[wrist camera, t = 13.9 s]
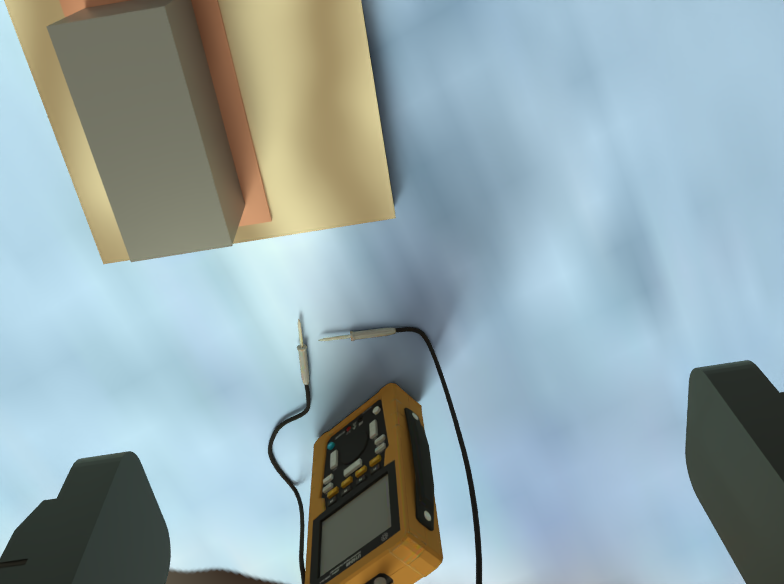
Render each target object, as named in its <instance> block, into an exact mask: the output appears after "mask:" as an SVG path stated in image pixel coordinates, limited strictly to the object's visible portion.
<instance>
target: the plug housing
mask: <svg viewBox="0 0 784 584" xmlns="http://www.w3.org/2000/svg"><path fill="white" fill-rule="evenodd" d="M46 27H47V30H48V33H49V35H50V38H51V41H52V44H53V47H54V49H55V52H56V55H57V58H58V60H59V63H60V66H61V69H62V72H63V74H64V77H65V80H66V83H67V86H68V88H69V91H70V94H71V97H72V99H73V102H74V105H75V108H76V111H77V113H78V116H79V119H80V122H81V125H82V127H83V130H84V133H85V136H86V138H87V141H88V144H89V147H90V150H91V152H92V155H93V158H94V161H95V164H96V166H97V169H98V172H99V175H100V177H101V180H102V183H103V186H104V189H105V191H106V194H107V197H108V200H109V203H110V205H111V208H112V211H113V214H114V216H115V219H116V222H117V225H118V228H119V230H120V233H121V236H122V239H123V242H124V244H125V247H126V250H127V253H128V255H129V258H130V261H131V262H134V261H141V260H147V259H153V258H160V257H166V256H172V255H178V254H185V253H191V252H197V251H203V250H210V249H216V248H222V247H228V246H232V245H233V242H234V239H235V235H236V232H237V229H238V226H239V223H240V220H241V217H242V214H243V211H244V208H245V202H244V198H243V195H242V191H241V187H240V183H239V179H238V176H237V172H236V168H235V164H234V161H233V157H232V153H231V149H230V146H229V142H228V138H227V134H226V130H225V127H224V123H223V119H222V115H221V112H220V108H219V104H218V100H217V96H216V93H215V89H214V85H213V81H212V78H211V74H210V70H209V66H208V63H207V59H206V55H205V51H204V47H203V44H202V40H201V36H200V32H199V29H198V25H197V21H196V17H195V13H194V10H193V6H192V2H191V0H130V1H124V2H118V3H112V4H106V5H100V6H94V7H88V8H84V9H82V10H80V11H78V12H76V13H74V14H72V15H69V16H67V17H65V18H63V19H61V20H59V21H57V22H55V23H52V24H50V25H48V26H46Z"/></svg>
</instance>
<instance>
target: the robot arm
mask: <svg viewBox="0 0 784 584" xmlns="http://www.w3.org/2000/svg"><path fill="white" fill-rule="evenodd" d="M685 455H686V464H687V470H688V474H689V478H690V481H691V484H692V487H693V489H694V491H695V494H696V496H697V498H698V499H699V501H700V503H701V505H702V506H703V508H704V510H705V512H706V513H707V515H708V517H709V519H710V521H711V522H712V524H713V526H714V528H715V529H716V531H717V533H718V535H719V536H720V538H721V540H722V542H723V544H724V545H725V547H726V549H727V551H728V552H729V554H730V556H731V558H732V559H733V561H734V563H735V565H736V567H737V568H738V570H739V572H740V574H741V575H742V577H743V579H744V581H745V582H746V584H784V392H781V393H779V391H778V390H777V389H776V388H775V387H774V386H773V384H772V383H771V382H770V381H769V380H768V378H767V377H766V376H765V375H764V374H763V372H762V371H761V370H760V369H759V368H758V367H757V366H756V365H755V364H754V363H753V362H752V361H749V360H745V361H739V362H732V363H725V364H719V365H712V366H705V367H699V368H694V369H693V370H692V372H691V374H690V378H689V391H688V410H687V428H686V447H685ZM170 557H171V549H170V538H169V533H168V529H167V526H166V523H165V520H164V518H163V515H162V513H161V511H160V508H159V506H158V503H157V501H156V498H155V496H154V493H153V491H152V489H151V486H150V484H149V481H148V479H147V476H146V474H145V471H144V469H143V467H142V464H141V462H140V460H139V458H138V457H137V455H136V454H135V453H133V452H131V451H128V452H122V453H115V454H108V455H102V456H95V457H88V458H82V459H78V460H77V461H76V462H75V463H74V464H73V466H72V468H71V470H70V472H69V474H68V476H67V478H66V480H65V482H64V484H63V486H62V488H61V490H60V493H59V495H58V497H57V499H50V500H43V501H42V502H41V503H40V505H39V506H38V507H37V508H36V509H35V510H34V511H33V512H32V513H31V514H30V515H29V516H28V517H27V518H26V519H25V520H24V521H23V522H22V523H21V524H20V525H19V526H18V527H17V528H16V530H15V531H14V533H13V535H12V536H11V538H10V540H9V542H8V544H7V546H6V548H5V550H4V552H3V554H2V556H1V558H0V584H165V583H166V579H167V576H168V572H169V567H170Z"/></svg>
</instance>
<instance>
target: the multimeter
mask: <svg viewBox="0 0 784 584" xmlns="http://www.w3.org/2000/svg"><path fill="white" fill-rule="evenodd" d="M298 330H299V339H300V345H298V346H297V349H298V351H299V360H300V368H301V377H302V380H303V383H304V385H305V390H306V400H307V407H306V409H305V410H304V411H303V412H301V413H299V414H297V415H295V416H293V417H291V418H289V419H286V420H285V421H283V422H282V423H280V424H279V425H278V426H277V427H276V429H275V430H274V432H273V434H272V436H271V439H270V441H269V445H268V455H269V458H270V461H271V463H272V465H273V466H274V468H275V469H276V471H277V472H278V473H279V474H280V476H281V477H282V478H283V479H284V480H285V481H286V483H287V484H288V485H289V486H290V487H291V489H292V490H293V491H294V493H295V495H296V498H297V501H298V504H299V510H300V527H301V528H300V550H299V564H300V572H301V579H302V584H414V583H415V582H417V581H418V580H420V579H421V578H423V577H426V576H427V575H429V574H430V573H431V572H433V571H434V570H435V569H437V568H438V566H439V565H440V564H441V563H442V560H443V554H442V547H441V540H440V532H439V525H438V518H437V511H436V504H435V497H434V482H433V474H432V467H431V459H430V451H429V445H428V441H427V438H426V435H425V430H424V423H423V417H422V408H421V405H420V404H419V403H418V402H416V401H415V400H414V399H413V398H412V397H410V396H409V395H408V394H407V393H406V392H405V391H404V390H402V389H401V388H400V387H399V386H398V385H397V384H394V383H389V384H387V385H386V386H384V387H383V388H381V389H380V391H379V392H378V393H377V394H376V395H374V396H373V397H372V398H371V399H369V400H368V401H367V402H365V403H364V404H363V405H362V406H360V407H359V408H358V409H357V410H355V411H354V412H353V413H351V414H350V415H349V416H348V417H346V418H345V419H344V420H343V421H341V422H340V423H339V424H338V425H336V426H335V427H334V428H332V429H331V430H330V431H329V432H325V433H324V434H323V435H322V436H321V437H320V438H319V439H318V440H317V441H316V442H315V444H314V453H313V467H312V480H311V494H310V507H309V522H308V538H307V554H306V571H305V568H304V559H303V552H304V511H303V504H302V501H301V497H300V495H299V493H298V491H297V489H296V488H295V486H294V485H293V484H292V482H291V481H290V480H289V479H288V478H287V477H286V476H285V474H284V473H283V472H282V471H281V469H280V468H279V467H278V465H277V464H276V462H275V460H274V458H273V455H272V444H273V441H274V439H275V436H276V434H277V433H278V431H279V430H280V429H281V428H282V427H283V426H284V425H286V424H287V423H289V422H292V421H294V420H296V419H298V418H300V417H302V416H304V415H305V414H306V413H308V411H309V409H310V391H309V386H308V383H309V369H308V360H307V351H306V349H307V345H305V344H303V337H302V328H301V323H300V320H299V319H298ZM406 331H411V332H416V333H418V334H420V335H421V336H422V337H423V339H424V340H425V342H426V343H427V345H428V348H429V350H430V352H431V355H432V357H433V360H434V362H435V365H436V368H437V371H438V374H439V377H440V380H441V383H442V386H443V389H444V392H445V395H446V399H447V402H448V405H449V409H450V412H451V415H452V419H453V422H454V426H455V430H456V433H457V437H458V441H459V444H460V448H461V452H462V456H463V460H464V465H465V469H466V475H467V480H468V485H469V492H470V498H471V505H472V513H473V522H474V531H475V547H476V584H482V553H481V537H480V527H479V518H478V509H477V503H476V496H475V490H474V484H473V479H472V474H471V469H470V464H469V460H468V456H467V452H466V448H465V445H464V441H463V438H462V434H461V431H460V427H459V423H458V420H457V417H456V413H455V410H454V407H453V404H452V400H451V397H450V394H449V391H448V388H447V385H446V382H445V379H444V376H443V373H442V370H441V367H440V365H439V362H438V359H437V357H436V354H435V352H434V349H433V347H432V345H431V343H430V341H429V339H428V337H427V336H426V335H425V333H424V332H422V331H421V330H420V329H417V328H413V327H403V328H380V329H372V330H364V331H356V332H353V331H350V334H351V335H344V336H336V337H328V338H323V339H320V340H319V341H330V340H338V339H346V338H351V341H354V340H357V339H365V338H373V337H380V336H388V335H392V334H395V333H396V332H406Z"/></svg>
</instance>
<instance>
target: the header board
mask: <svg viewBox="0 0 784 584" xmlns="http://www.w3.org/2000/svg"><path fill="white" fill-rule="evenodd" d="M4 1H5V4H6V7H7V9H8V12H9V15H10V17H11V20H12V23H13V25H14V28H15V31H16V33H17V36H18V39H19V41H20V44H21V46H22V49H23V52H24V54H25V57H26V60H27V62H28V65H29V68H30V70H31V73H32V76H33V78H34V81H35V84H36V86H37V89H38V92H39V94H40V97H41V100H42V102H43V105H44V107H45V110H46V113H47V115H48V118H49V121H50V123H51V126H52V129H53V131H54V134H55V137H56V139H57V142H58V145H59V147H60V150H61V153H62V155H63V158H64V161H65V163H66V166H67V168H68V171H69V174H70V176H71V179H72V182H73V184H74V187H75V190H76V192H77V195H78V198H79V200H80V203H81V206H82V208H83V211H84V214H85V216H86V219H87V222H88V224H89V227H90V229H91V232H92V235H93V237H94V240H95V243H96V245H97V248H98V251H99V253H100V256H101V259H102V261H103V264H108V263H114V262H120V261H127V260H130V258H129V255H128V253H127V250H126V247H125V244H124V242H123V239H122V236H121V233H120V230H119V228H118V225H117V222H116V219H115V216H114V214H113V211H112V208H111V205H110V203H109V200H108V197H107V194H106V191H105V189H104V186H103V183H102V180H101V177H100V175H99V172H98V169H97V166H96V164H95V161H94V158H93V155H92V152H91V150H90V147H89V144H88V141H87V138H86V136H85V133H84V130H83V127H82V125H81V122H80V119H79V116H78V113H77V111H76V108H75V105H74V102H73V99H72V97H71V94H70V91H69V88H68V86H67V83H66V80H65V77H64V74H63V72H62V69H61V66H60V63H59V60H58V58H57V55H56V52H55V49H54V47H53V44H52V41H51V38H50V35H49V33H48V30H47V27H46V26H48V25H50V24H52V23H55V22H57V21H59V20H61V19H63V18H65V17H67V16H69V15H72V14H74V13H76V12H78V11H80V10H82V9H84V8H88V7H94V6H100V5H106V4H112V3H118V2H124V1H130V0H4ZM191 2H192V6H193V10H194V13H195V17H196V21H197V25H198V29H199V32H200V36H201V40H202V44H203V47H204V51H205V55H206V59H207V63H208V66H209V70H210V74H211V78H212V81H213V85H214V89H215V93H216V96H217V100H218V104H219V108H220V112H221V115H222V119H223V123H224V127H225V130H226V134H227V138H228V142H229V146H230V149H231V153H232V157H233V161H234V164H235V168H236V172H237V176H238V179H239V183H240V187H241V191H242V195H243V198H244V202H245V208H244V211H243V214H242V217H241V220H240V223H239V226H238V229H237V232H236V235H235V239H234V242H233V244H234V243H241V242H247V241H254V240H260V239H266V238H273V237H279V236H285V235H292V234H298V233H304V232H311V231H317V230H323V229H330V228H336V227H342V226H349V225H355V224H361V223H368V222H374V221H380V220H387V219H393V218H396V217H395V210H394V203H393V197H392V191H391V184H390V178H389V172H388V166H387V159H386V153H385V147H384V140H383V134H382V128H381V122H380V115H379V109H378V103H377V96H376V90H375V84H374V77H373V71H372V65H371V59H370V52H369V46H368V40H367V33H366V27H365V21H364V15H363V8H362V2H361V0H191Z"/></svg>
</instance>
